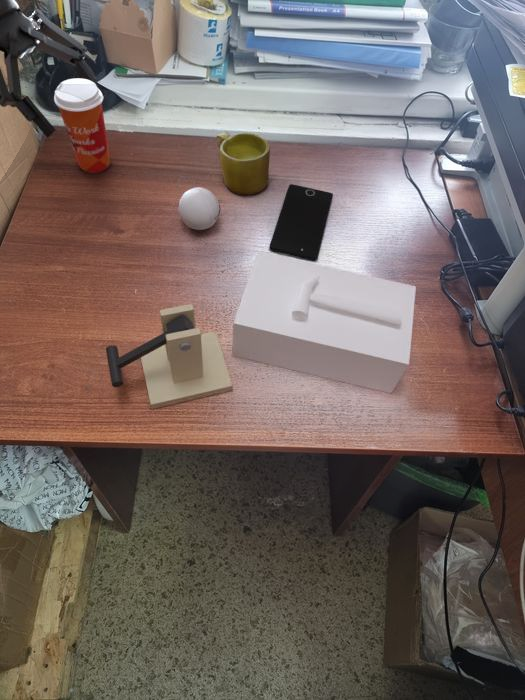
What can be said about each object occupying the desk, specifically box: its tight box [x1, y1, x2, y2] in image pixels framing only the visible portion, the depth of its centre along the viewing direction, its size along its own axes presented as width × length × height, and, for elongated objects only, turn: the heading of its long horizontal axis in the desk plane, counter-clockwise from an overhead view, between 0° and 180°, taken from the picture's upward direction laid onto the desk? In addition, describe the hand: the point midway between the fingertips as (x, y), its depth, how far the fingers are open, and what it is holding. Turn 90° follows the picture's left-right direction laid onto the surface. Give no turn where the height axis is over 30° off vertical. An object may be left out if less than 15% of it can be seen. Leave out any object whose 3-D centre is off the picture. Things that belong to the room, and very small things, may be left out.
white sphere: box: [177, 187, 221, 231], centre depth 91 cm, size 10×7×7 cm
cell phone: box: [268, 183, 334, 262], centre depth 95 cm, size 9×18×1 cm, turn 166°
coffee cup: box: [53, 77, 111, 174], centre depth 94 cm, size 8×8×15 cm
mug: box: [215, 131, 271, 196], centre depth 98 cm, size 12×10×10 cm
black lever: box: [105, 315, 194, 388], centre depth 68 cm, size 13×6×2 cm, turn 107°
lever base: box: [140, 303, 234, 410], centre depth 71 cm, size 12×10×13 cm
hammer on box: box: [231, 250, 417, 394], centre depth 77 cm, size 14×25×11 cm, turn 77°
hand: (77, 115), depth 92 cm, fingers open, 13 cm apart
